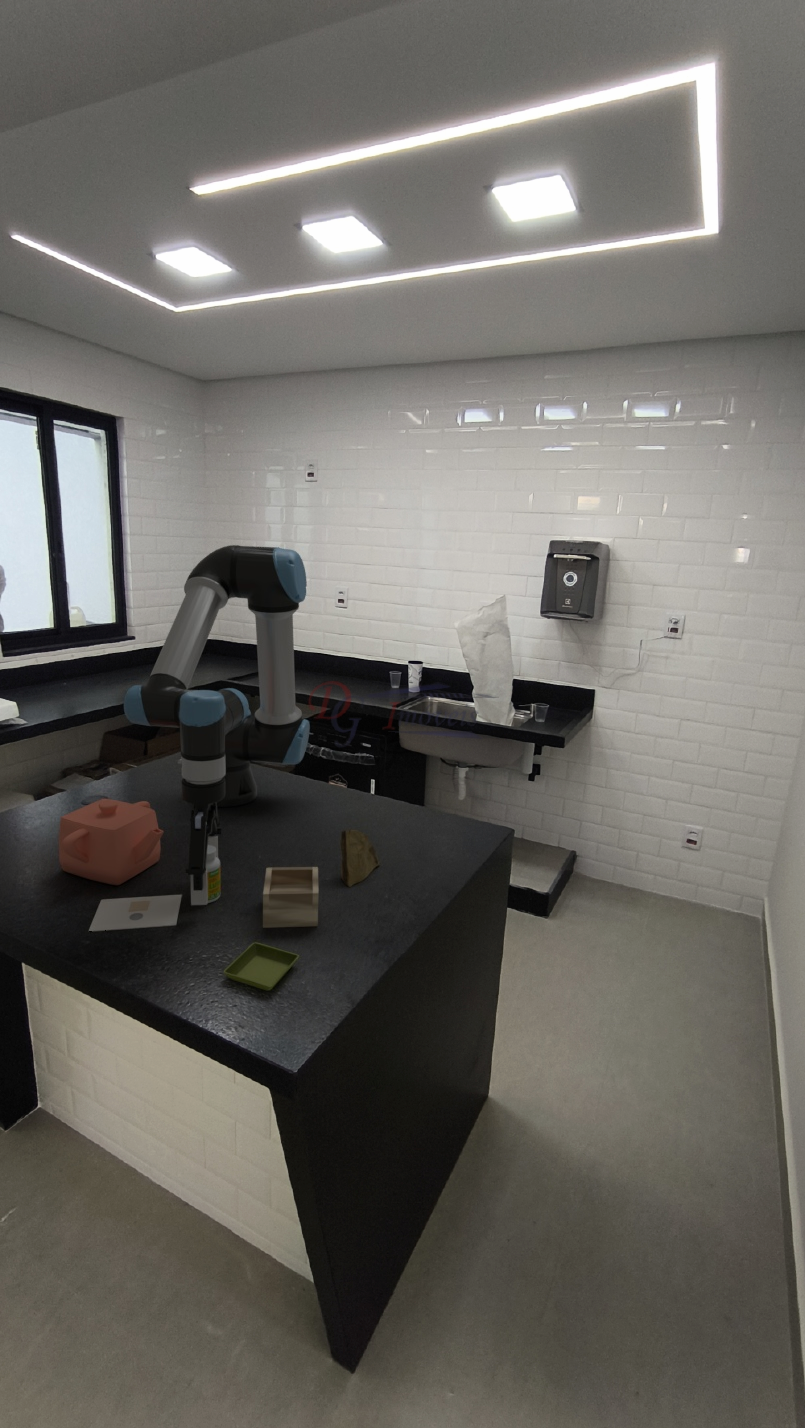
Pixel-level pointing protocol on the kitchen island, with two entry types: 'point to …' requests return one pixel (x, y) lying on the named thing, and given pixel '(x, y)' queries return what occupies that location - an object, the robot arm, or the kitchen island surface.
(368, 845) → the rock
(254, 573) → the robot arm
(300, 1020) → the kitchen island surface
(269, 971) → the green tray
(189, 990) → the kitchen island surface
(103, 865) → the teapot
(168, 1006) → the kitchen island surface
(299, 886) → the wooden crate
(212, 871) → the supplement bottle
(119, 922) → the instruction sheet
